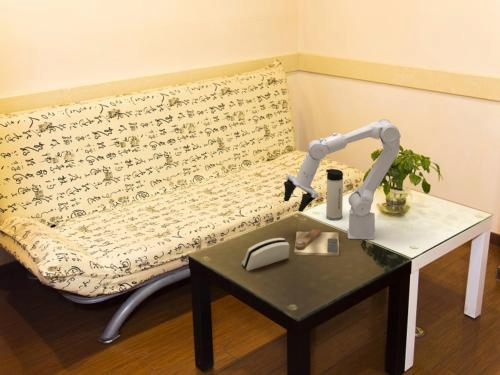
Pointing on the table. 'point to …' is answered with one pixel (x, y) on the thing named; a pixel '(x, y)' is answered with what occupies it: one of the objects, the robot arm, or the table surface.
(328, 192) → the travel mug
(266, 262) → the white pencil case
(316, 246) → the latch board
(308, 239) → the link
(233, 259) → the table surface
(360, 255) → the table surface
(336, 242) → the keeper
